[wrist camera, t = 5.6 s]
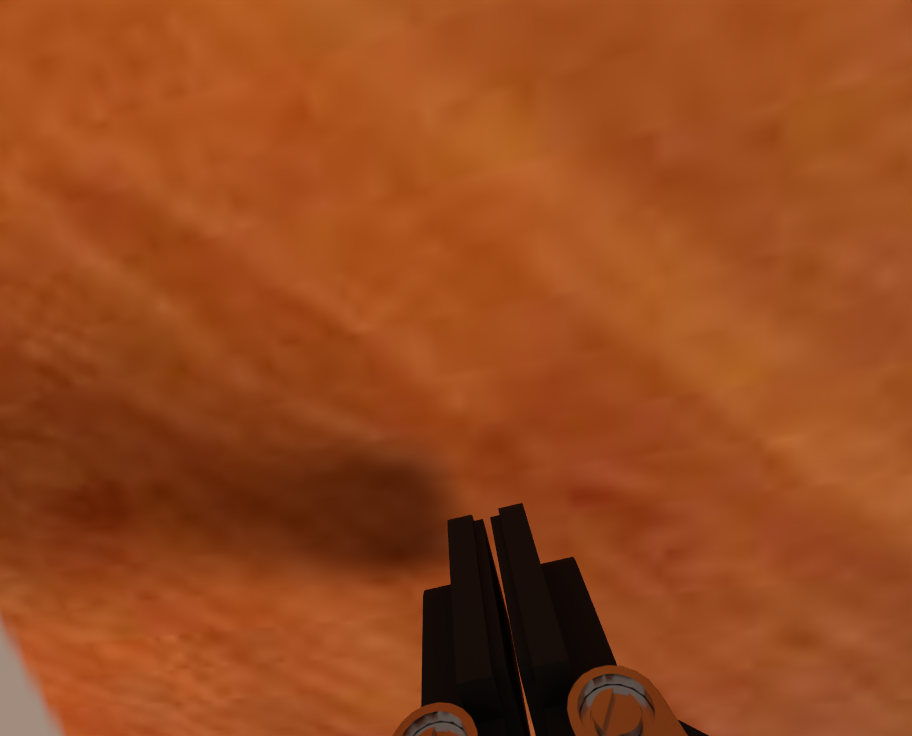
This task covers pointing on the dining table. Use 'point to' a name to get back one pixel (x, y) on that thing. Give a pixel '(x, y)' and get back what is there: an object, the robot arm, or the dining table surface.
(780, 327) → the dining table surface
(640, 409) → the dining table surface
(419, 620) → the dining table surface
